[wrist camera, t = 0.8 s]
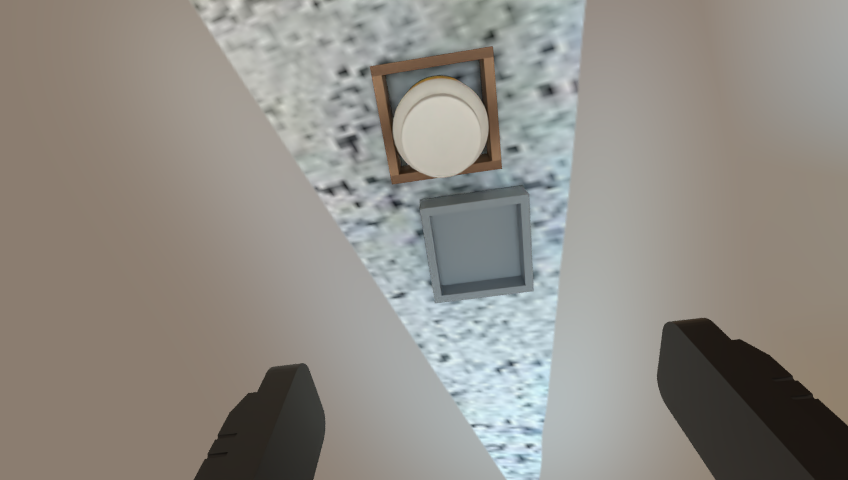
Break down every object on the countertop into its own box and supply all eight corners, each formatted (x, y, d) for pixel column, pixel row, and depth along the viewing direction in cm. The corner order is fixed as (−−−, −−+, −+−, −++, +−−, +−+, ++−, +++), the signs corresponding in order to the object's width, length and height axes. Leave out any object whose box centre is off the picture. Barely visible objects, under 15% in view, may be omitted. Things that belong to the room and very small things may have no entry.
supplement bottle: (491, 101, 28) (519, 120, 20) (449, 166, 30) (458, 210, 21) (425, 58, 27) (423, 57, 18) (386, 128, 29) (368, 157, 20)
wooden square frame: (374, 66, 27) (370, 66, 25) (487, 47, 27) (492, 46, 25) (394, 175, 30) (392, 184, 28) (496, 160, 30) (501, 168, 28)
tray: (420, 199, 31) (419, 209, 29) (522, 185, 31) (528, 194, 29) (434, 289, 34) (435, 303, 32) (527, 277, 34) (533, 291, 32)
